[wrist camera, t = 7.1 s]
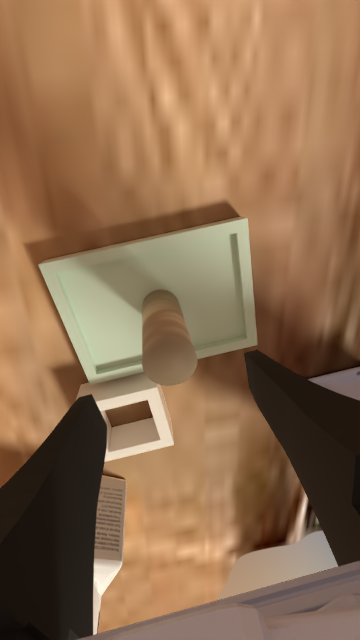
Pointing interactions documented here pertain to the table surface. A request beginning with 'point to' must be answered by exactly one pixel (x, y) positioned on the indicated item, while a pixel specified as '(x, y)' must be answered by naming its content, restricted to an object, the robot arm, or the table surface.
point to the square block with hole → (133, 434)
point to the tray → (147, 276)
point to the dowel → (166, 340)
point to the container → (108, 538)
